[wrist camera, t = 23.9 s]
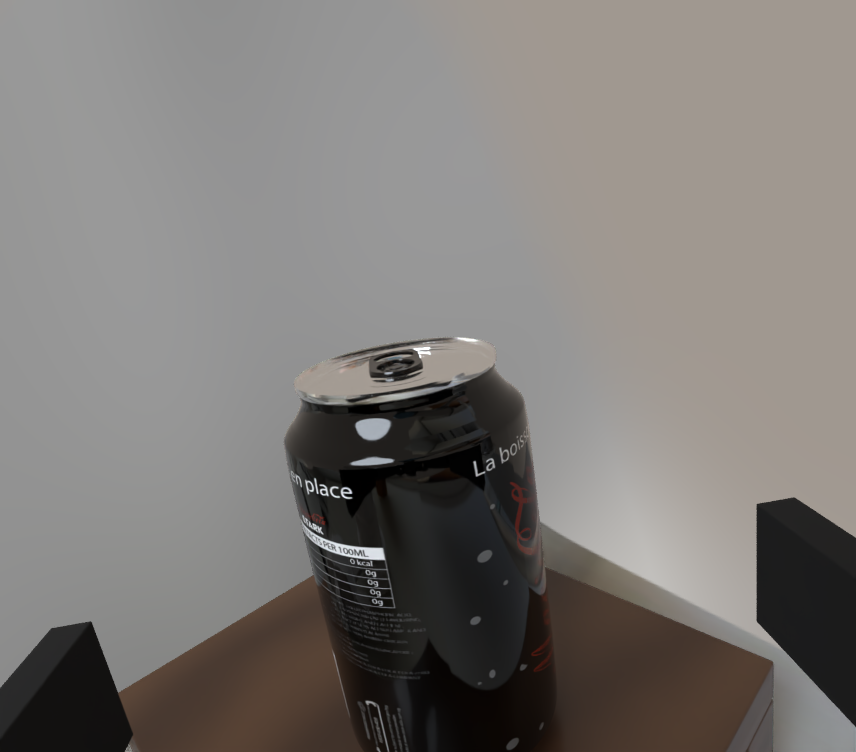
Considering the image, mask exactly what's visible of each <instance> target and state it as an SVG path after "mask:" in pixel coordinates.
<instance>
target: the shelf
mask: <svg viewBox="0 0 856 752" xmlns="http://www.w3.org/2000/svg"><path fill="white" fill-rule="evenodd" d="M545 571H546V580H547V589H548V598H549V606H550V615H551V624H552V633H553V643H554V654H555V664H556V676H557V702H556V707H555V711H554V715H553V718H552V720H551V723H550V725H549V727H548V729H547V731H546V732H545V734H544V736H543V737H542V739H541V740H540V741H539V743H538V744H537V745H536V746H535V748H534V749H533V750H532V751H531V752H773V699H772V698H773V670H774V665H773V662H772V661H770V660H768V659H765V658H763V657H761V656H758V655H756V654H753V653H751V652H749V651H746V650H744V649H741V648H739V647H737V646H734V645H732V644H729V643H727V642H725V641H722V640H720V639H717V638H715V637H712V636H710V635H708V634H705V633H703V632H700V631H698V630H696V629H693V628H691V627H688V626H686V625H684V624H681V623H679V622H676V621H674V620H672V619H669V618H667V617H664V616H662V615H659V614H657V613H655V612H652V611H650V610H647V609H645V608H643V607H640V606H638V605H635V604H633V603H631V602H628V601H626V600H623V599H621V598H619V597H616V596H614V595H611V594H609V593H607V592H604V591H602V590H599V589H597V588H594V587H592V586H590V585H587V584H585V583H582V582H580V581H578V580H575V579H573V578H570V577H568V576H566V575H563V574H561V573H558V572H556V571H554V570H551V569H549V568H546V567H545ZM118 694H119V697H120V700H121V702H122V705H123V708H124V710H125V713H126V716H127V718H128V721H129V724H130V726H131V729H132V732H133V736H132V738H131V740H130V742H129V743H130V746H131V749H132V751H133V752H364V751H363V750H362V748H361V747H360V745H359V743H358V741H357V739H356V737H355V735H354V732H353V729H352V725H351V722H350V718H349V715H348V711H347V707H346V703H345V700H344V696H343V692H342V688H341V684H340V680H339V677H338V673H337V669H336V665H335V660H334V656H333V652H332V648H331V644H330V640H329V636H328V632H327V627H326V623H325V619H324V615H323V611H322V607H321V603H320V599H319V594H318V590H317V586H316V582H315V578H314V575H313V576H311V577H310V578H308V579H306V580H305V581H303V582H301V583H300V584H298V585H296V586H295V587H293V588H291V589H290V590H288V591H287V592H285V593H283V594H282V595H280V596H278V597H276V598H275V599H273V600H271V601H270V602H268V603H266V604H265V605H263V606H261V607H260V608H258V609H257V610H255V611H253V612H252V613H250V614H248V615H247V616H245V617H243V618H242V619H240V620H239V621H237V622H235V623H233V624H232V625H230V626H228V627H227V628H225V629H223V630H222V631H220V632H219V633H217V634H215V635H214V636H212V637H210V638H208V639H207V640H205V641H204V642H202V643H200V644H198V645H197V646H195V647H194V648H192V649H190V650H189V651H187V652H185V653H184V654H182V655H180V656H179V657H177V658H175V659H174V660H172V661H170V662H169V663H167V664H165V665H164V666H162V667H160V668H159V669H157V670H155V671H154V672H152V673H150V674H149V675H147V676H145V677H144V678H142V679H140V680H139V681H137V682H136V683H134V684H132V685H131V686H129V687H127V688H125V689H124V690H122V691H121V692H119V693H118Z"/></svg>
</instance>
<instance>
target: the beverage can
mask: <svg viewBox="0 0 856 752" xmlns="http://www.w3.org/2000/svg"><path fill="white" fill-rule="evenodd" d="M495 361H496V349H495V347H494V346H493V345H492V344H491V343H489V342H486V341H483V340H479V339H472V338H457V337H456V338H455V337H447V338H446V337H445V338H428V339H418V340H410V341H403V342H396V343H390V344H384V345H379V346H375V347H370V348H366V349H361V350H358V351H354V352H350V353H347V354H344V355H340V356H337V357H334V358H331V359H329V360H326V361H323V362H321V363H319V364H316V365H314V366H312V367H311V368H309V369H307V370H305V371H304V372H302V373H301V374H300V375H298V376H297V378H296V379H295V381H294V387H295V391H296V393H297V395H298V396H299V397H300V400H301V405H300V409H299V411H298V413H297V415H296V417H295V418H294V420H293V421H292V423H291V425H290V426H289V428H288V430H287V432H286V434H285V437H284V448H285V453H286V459H287V465H288V471H289V475H290V479H291V482H292V487H293V491H294V495H295V499H296V504H297V507H298V511H299V516H300V520H301V524H302V528H303V533H304V536H305V541H306V545H307V549H308V553H309V557H310V561H311V565H312V569H313V573H314V578H315V582H316V586H317V590H318V594H319V599H320V603H321V607H322V611H323V615H324V619H325V623H326V627H327V632H328V636H329V640H330V644H331V648H332V652H333V656H334V660H335V665H336V669H337V673H338V677H339V680H340V684H341V688H342V692H343V696H344V700H345V703H346V707H347V711H348V715H349V718H350V722H351V725H352V729H353V732H354V735H355V737H356V739H357V741H358V743H359V745H360V747H361V748H362V750H363V751H364V752H531V751H532V750H533V749H534V748H535V746H536V745H537V744H538V743H539V741H540V740H541V739H542V737H543V736H544V734H545V732H546V731H547V729H548V727H549V725H550V723H551V720H552V718H553V715H554V711H555V707H556V702H557V676H556V664H555V654H554V643H553V633H552V624H551V615H550V606H549V598H548V589H547V580H546V571H545V562H544V554H543V545H542V536H541V527H540V519H539V510H538V501H537V492H536V483H535V475H534V466H533V457H532V449H531V440H530V431H529V423H528V418H527V412H526V407H525V402H524V399H523V396H522V394H521V393H520V392H519V391H518V390H517V389H516V388H515V387H514V386H513V385H512V384H510V383H509V382H508V381H506V380H505V379H504V378H503V377H502V376H501V375H500V374H499V373H498V372H497V370H496V369H495Z"/></svg>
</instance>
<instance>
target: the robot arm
mask: <svg viewBox="0 0 856 752" xmlns="http://www.w3.org/2000/svg"><path fill="white" fill-rule="evenodd" d="M757 622H758V623H759V624H760V625H761V626H762V627H763V629H764V630H765V631H766V632H767V633H768V634H769V635H770V636H771V637H772V638H773V639H774V640H775V641H776V642H777V643H778V645H779V646H780V647H781V648H782V649H783V650H784V651H785V652H786V653H787V654H788V655H789V656H790V657H791V658H792V659H793V660H794V662H795V663H796V664H797V665H798V666H799V667H800V668H801V669H802V670H803V671H804V672H805V673H806V674H807V675H808V676H809V678H810V679H811V680H812V681H813V682H814V683H815V684H816V685H817V686H818V687H819V688H820V689H821V690H822V691H823V692H824V694H825V695H826V696H827V697H828V698H829V699H830V700H831V701H832V702H833V703H834V704H835V705H836V706H837V707H838V708H839V710H840V711H841V712H842V713H843V714H844V715H845V716H846V717H847V718H848V719H849V720H850V721H851V722H852V723H853V724H854V725H855V727H856V538H855V537H854V536H852V535H851V534H849V533H847V532H846V531H844V530H843V529H841V528H840V527H838V526H837V525H835V524H834V523H832V522H831V521H829V520H828V519H826V518H825V517H823V516H822V515H820V514H819V513H817V512H816V511H814V510H813V509H811V508H810V507H808V506H807V505H805V504H803V503H802V502H801V501H799V500H797V499H796V498H788V499H783V500H777V501H772V502H766V503H760V504H757ZM132 736H133V732H132V729H131V726H130V724H129V721H128V718H127V716H126V713H125V710H124V708H123V705H122V702H121V700H120V697H119V694H118V692H117V689H116V686H115V684H114V681H113V679H112V676H111V673H110V670H109V668H108V665H107V662H106V660H105V657H104V655H103V651H102V649H101V646H100V644H99V641H98V638H97V636H96V633H95V630H94V627H93V625H92V622H85V623H79V624H74V625H68V626H63V627H57V628H52V629H51V630H50V631H49V632H48V633H47V634H46V635H45V636H44V638H43V639H42V640H41V641H40V642H39V644H38V645H37V646H36V647H35V648H34V649H33V651H32V652H31V653H30V654H29V655H28V656H27V657H26V659H25V660H24V661H23V662H22V663H21V664H20V666H19V667H18V668H17V669H16V670H15V671H14V673H13V674H12V675H11V676H10V677H9V678H8V680H7V681H6V682H5V683H4V684H3V685H2V687H1V688H0V752H125V750H126V748H127V746H128V744H129V742H130V740H131V738H132Z"/></svg>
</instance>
